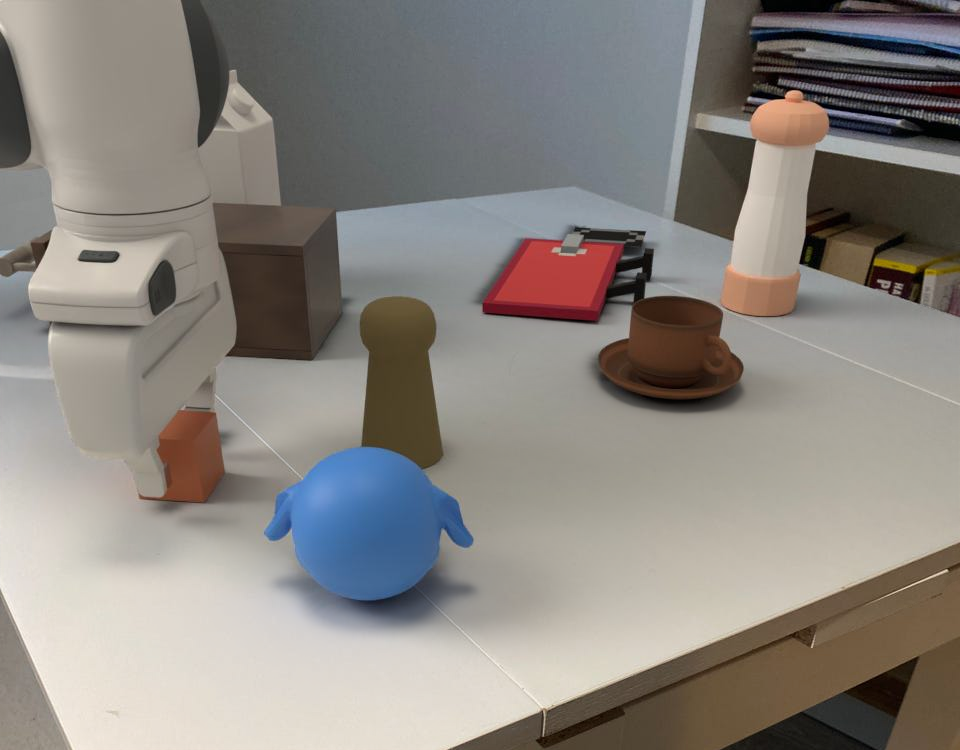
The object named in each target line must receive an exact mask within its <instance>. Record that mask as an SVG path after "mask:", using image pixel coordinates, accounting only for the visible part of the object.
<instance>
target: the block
mask: <svg viewBox="0 0 960 750" xmlns="http://www.w3.org/2000/svg"><path fill="white" fill-rule="evenodd" d="M158 438H159V447H158V448H157V449H156V450H157V453H158V455H159V457H160V459H161V461H162V462H167V463H169V467H170V477H171V478H172V484H171V486H170V487H169V488H168V490H167V491H166V493H165V494H164V496H162V497H160V498H157V497H144V496H142V495H140V494H139V493H138V492H137V494H138V498H139V499H143V500H144V499H145V500H159V501H173V502H188V503H190V502H191V503H203V504H204V503H206V501H207V500H208V498H209V497H210V495H211V493H212V492H213V490H214V489H215V487H216V486H217V485H218V483H219V482H220V480H221V479H222V478H223V476H224V474H225V472H226V471H225V463H224V456H223V450H222V444H221V443H222V442H221V436H220V429H219V423H218V417H217V412H216V411H214V412H202V411H185V410H184V409H183V410H182V409H180V410H179V412H178V413H177V414H176V415H175V416H174V418H173V419H172V420H171V421H170V422H169V424H168V425H167V426H166V427H165V428H164V430H163V431H162V432H161V433H160V434H159V436H158Z"/></svg>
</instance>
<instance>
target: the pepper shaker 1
mask: <svg viewBox="0 0 960 750" xmlns="http://www.w3.org/2000/svg"><path fill="white" fill-rule="evenodd" d="M359 335H360V339H361V342H362V345H364V347H365V348H366V349H367V351H368V359H367V372H366V384H365V396H364V408H363V419H362V420H363V421H362V431H361V432H362V433H361V445H360V447H376V448H382V449H387V450H390V451H393V452H396V453H398V454H401V455H403V456H405V457H406V458H408V459H410V460H411V461H413V462H414V463H415V464H416V465H418V466H419V467H420V468H421V469H422V470H423V469H425V468H428V467H432V466H433V465H435V464H436V463H438V462H440V461H441V458H442V457H443V455H444V451H443V443H442V438H441V437H442V436H441V430H440V429H441V428H440V423H439V416H438V408H437V402H436V395H435V389H434V381H433V374H432V367H431V360H430V354H429V351H430V349H431V347H432V346H433V344H434V343H435V341H436V337H437V320H436V317H435V313H434V311H433V310H432V308H431V306H430V305H429V304H428V303H426V301H425V302H424V301H423V300H421V299H418V298H414V297H410V296H399V295H398V296H397V295H396V296H385V297H380V298H376V299H374V300H372V301H370V302H369V303H368V304H366V305H365V307H364V308H363V310H362V312H361V313H360V317H359Z"/></svg>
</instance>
